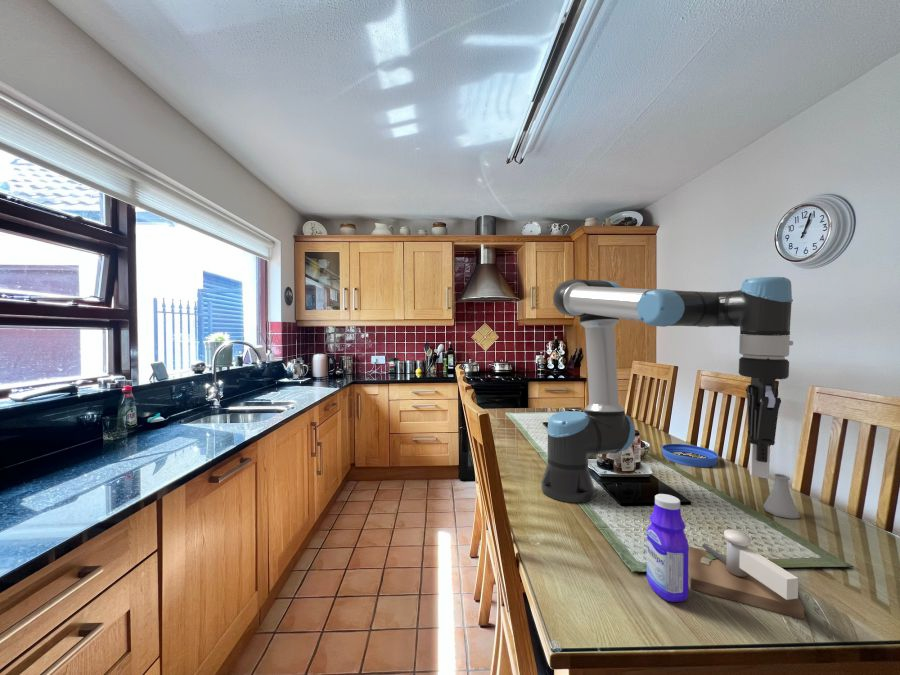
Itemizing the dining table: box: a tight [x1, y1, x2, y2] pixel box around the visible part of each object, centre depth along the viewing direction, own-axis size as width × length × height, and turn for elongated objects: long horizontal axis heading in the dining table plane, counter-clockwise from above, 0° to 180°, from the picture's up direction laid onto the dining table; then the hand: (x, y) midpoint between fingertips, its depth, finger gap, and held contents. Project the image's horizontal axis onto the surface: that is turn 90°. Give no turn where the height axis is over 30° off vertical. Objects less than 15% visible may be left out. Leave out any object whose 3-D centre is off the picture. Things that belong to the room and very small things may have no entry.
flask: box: [762, 473, 801, 520], centre depth 99 cm, size 7×7×10 cm
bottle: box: [646, 493, 690, 603], centre depth 69 cm, size 7×6×17 cm
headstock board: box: [688, 546, 805, 620], centre depth 71 cm, size 16×12×2 cm
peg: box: [701, 529, 799, 600], centre depth 70 cm, size 18×4×7 cm, turn 9°
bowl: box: [661, 443, 719, 468], centre depth 141 cm, size 18×18×4 cm
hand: (759, 475), depth 74 cm, fingers closed
